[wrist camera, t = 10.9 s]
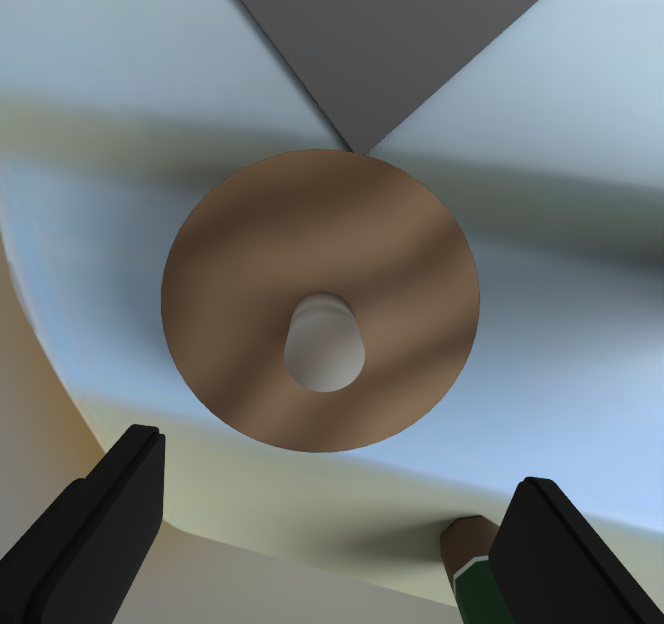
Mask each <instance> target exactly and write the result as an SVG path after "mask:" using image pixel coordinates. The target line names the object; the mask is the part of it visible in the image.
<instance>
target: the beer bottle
mask: <svg viewBox="0 0 664 624" xmlns="http://www.w3.org/2000/svg"><path fill="white" fill-rule="evenodd" d="M499 528H500V527H499V526H497V525H496V524H494V523H493V522H491V521H490V520H488V519H486V518H485V517H483V516H477V517H470V518H463V519H457V520H456V521H455V522H454V523H453V524H452V525H451V526H450V527H449V528H447V529H446V530H445V531H444V532H443V533H442V534H441V556H442V559H443V563H444V566H445V570H446V573H447V576H448V579H449V582H450V585H451V588H452V591H453V593H454V596H455V599H456V602H457V605H458V608H459V611H460V614H461V617H462V620H463V623H464V624H515V623H514V621H513V618H512V616H511V614H510V612H509V609H508V607H507V605H506V603H505V601H504V598H503V596H502V594H501V592H500V590H499V587H498V585H497V583H496V581H495V579H494V576H493V574H492V572H491V569H490V567H489V562H488V554H489V551H490V549H491V546H492V544H493V542H494V539H495V537H496V535H497V532H498V530H499Z"/></svg>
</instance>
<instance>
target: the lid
mask: <svg viewBox="0 0 664 624" xmlns="http://www.w3.org/2000/svg"><path fill="white" fill-rule="evenodd" d="M479 300H480V293H479V284H478V275H477V271H476V267H475V263H474V259H473V255H472V253H471V250H470V248H469V245H468V243H467V241H466V238H465V236H464V234H463V232H462V231H461V229H460V227H459V226H458V224H457V222H456V220H455V219H454V217H453V216H452V215H451V213H450V212H449V211H448V210H447V208H446V207H445V206H444V205H443V203H442V202H441V201H440V200H439V199H438V198H437V197H436V196H435V195H434V194H433V193H432V192H431V191H429V190H428V189H427V188H426V187H425V186H424V185H423V184H421V183H420V182H419V181H417V180H416V179H414V178H413V177H411V176H410V175H408V174H407V173H406V172H404V171H402V170H400V169H398V168H396V167H394V166H392V165H390V164H388V163H386V162H384V161H381V160H378V159H375V158H371V157H368V156H365V155H362V154H358V153H352V152H346V151H340V150H320V149H312V150H303V151H295V152H288V153H284V154H281V155H277V156H273V157H269V158H266V159H264V160H261V161H259V162H256V163H254V164H252V165H249V166H247V167H245V168H243V169H241V170H240V171H238V172H237V173H235V174H233V175H232V176H230V177H228V178H227V179H225V180H224V181H223V182H221V183H220V184H219V185H218V186H217V187H215V188H214V189H213V190H212V191H211V192H209V193H208V194H207V195H206V196H205V197H204V198H203V199H202V201H201V202H200V203H199V204H198V205H197V206H196V207H195V208H194V209H193V211H192V212H191V213H190V215H189V216H188V218H187V219H186V221H185V222H184V224H183V225H182V227H181V228H180V230H179V232H178V234H177V236H176V239H175V241H174V243H173V245H172V247H171V249H170V252H169V256H168V259H167V262H166V266H165V269H164V275H163V281H162V288H161V314H162V322H163V329H164V334H165V337H166V341H167V344H168V348H169V351H170V353H171V356H172V358H173V360H174V362H175V365H176V367H177V369H178V371H179V372H180V374H181V376H182V377H183V379H184V381H185V382H186V384H187V385H188V387H189V388H190V389H191V390H192V392H193V393H194V394H195V396H196V397H197V398H198V399H199V400H200V401H201V402H202V403H203V404H204V405H205V406H206V407H207V408H208V409H209V410H210V411H211V412H212V413H213V414H214V415H216V416H217V417H218V418H219V419H221V420H222V421H223V422H225V423H226V424H227V425H229V426H231V427H232V428H234V429H236V430H237V431H239V432H240V433H242V434H244V435H246V436H249V437H251V438H253V439H255V440H257V441H260V442H263V443H266V444H269V445H272V446H275V447H279V448H283V449H288V450H293V451H302V452H312V453H319V452H338V451H346V450H352V449H356V448H360V447H365V446H368V445H371V444H374V443H377V442H380V441H382V440H385V439H387V438H389V437H391V436H393V435H395V434H397V433H399V432H401V431H403V430H404V429H406V428H407V427H409V426H411V425H412V424H414V423H415V422H417V421H418V420H419V419H420V418H422V417H423V416H424V415H425V414H427V413H428V412H429V411H430V410H431V409H432V408H433V407H434V406H435V405H436V404H437V403H438V402H439V401H440V400H441V399H442V398H443V397H444V395H445V394H446V393H447V392H448V390H449V389H450V388H451V387H452V385H453V384H454V382H455V381H456V379H457V377H458V376H459V374H460V372H461V371H462V369H463V367H464V365H465V363H466V360H467V358H468V356H469V354H470V351H471V348H472V345H473V342H474V338H475V335H476V330H477V324H478V318H479Z"/></svg>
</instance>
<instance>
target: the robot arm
mask: <svg viewBox="0 0 664 624" xmlns="http://www.w3.org/2000/svg"><path fill="white" fill-rule="evenodd" d="M164 467H165V435H164V434H159V429H158V428H157V427H153V426H145V425H138V424H133V425H131V426H130V427H129V428H128V429H127V430H126V432H125V433H124V434H123V435H122V436H121V437H120V439H119V440H118V441H117V442H116V443H115V444H114V445H113V447H112V448H111V449H110V450H109V451H108V452H107V454H106V455H105V456H104V457H103V458H102V459H101V461H100V462H99V463H98V464H97V465H96V466H95V467H94V469H93V470H92V471H91V472H90V473H89V474H88V476H87V477H86V478H85V479H84V478H78V479H76V480H75V481H73V482H72V483H71V484H69V485H68V486H67V487H66V489H64V491H63V492H62V493H61V494H60V495H59V496H58V497H57V498H56V499H55V501H54V502H53V503H52V504H51V505H50V506H49V507H48V508H47V509H46V510H45V512H44V513H43V514H42V515H41V516H40V517H39V518H38V519H37V520H36V521H35V523H34V524H33V525H32V526H31V527H30V528H29V529H28V531H26V533H25V534H24V535H23V536H22V537H21V538H20V539H19V541H17V543H16V544H15V545H14V546H13V547H12V548H11V549H10V550H9V551H8V552H7V554H6V555H5V556H4V557H3V558H2V559H1V560H0V624H112V622H113V620H114V618H115V616H116V614H117V612H118V610H119V608H120V606H121V604H122V602H123V600H124V598H125V596H126V594H127V593H128V591H129V589H130V587H131V585H132V583H133V580H134V579H135V577H136V574H137V573H138V571H139V569H140V567H141V565H142V563H143V561H144V559H145V557H146V555H147V553H148V551H149V549H150V547H151V545H152V543H153V541H154V539H155V537H156V535H157V533H158V531H159V528H160V525H161V522H162V517H163V495H164ZM488 562H489V567H490V569H491V572H492V574H493V576H494V579H495V581H496V583H497V585H498V587H499V590H500V592H501V594H502V596H503V598H504V601H505V603H506V605H507V607H508V609H509V612H510V614H511V616H512V618H513V621H514V623H515V624H664V614H663V613H662V612H661V611H660V609H659V608H658V607H657V606H656V605H655V603H654V602H653V601H652V600H651V598H650V597H649V596H648V595H647V594H646V592H645V591H644V590H643V589H642V588H641V586H640V585H639V584H638V583H637V581H636V580H635V579H634V578H633V577H632V575H631V574H630V573H629V572H628V570H627V569H626V568H625V567H624V566H623V564H622V563H621V562H620V561H619V560H618V558H617V557H616V556H615V555H614V553H613V552H612V551H611V550H610V549H609V547H608V546H607V545H606V544H605V543H604V541H603V540H602V539H601V538H600V536H599V535H598V534H597V533H596V532H595V530H594V529H593V528H592V527H591V526H590V524H589V523H588V522H587V521H586V519H585V518H584V517H583V516H582V515H581V513H580V512H579V511H578V510H577V509H576V507H575V506H574V505H573V504H572V502H571V501H570V500H569V499H568V498H567V496H566V495H565V494H564V493H563V492H562V490H561V489H560V488H559V487H558V485H557V484H556V483H555V482H554V481H552V480H550V479H545V478H537V477H526V478H525V479H524V481H523V482H520V483H519V484H518V486H517V488H516V491H515V493H514V495H513V498H512V500H511V502H510V505H509V507H508V509H507V511H506V514H505V516H504V518H503V521H502V523H501V525H500V528H499V530H498V532H497V535H496V537H495V539H494V542H493V544H492V546H491V549H490V551H489V554H488Z"/></svg>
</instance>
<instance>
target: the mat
mask: <svg viewBox="0 0 664 624" xmlns="http://www.w3.org/2000/svg"><path fill="white" fill-rule="evenodd" d="M240 1H241V2H242V3H243V5H244V6H245V8H246V9H247V10H248V12H249V13H250V14H251V16H252V17H253V18H254V20H255V21H256V22H257V24H258V25H259V26H260V28H261V29H262V30H263V32H264V33H265V35H266V36H267V37H268V39H269V40H270V41H271V43H272V44H273V45H274V47H275V48H276V49H277V51H278V52H279V53H280V55H281V56H282V58H283V59H284V60H285V62H286V63H287V64H288V66H289V67H290V68H291V70H292V71H293V72H294V74H295V75H296V76H297V78H298V79H299V80H300V82H301V83H302V85H303V86H304V87H305V89H306V90H307V91H308V93H309V94H310V95H311V97H312V98H313V99H314V101H315V102H316V103H317V105H318V106H319V107H320V109H321V110H322V112H323V113H324V114H325V116H326V117H327V118H328V120H329V121H330V122H331V124H332V125H333V126H334V128H335V129H336V130H337V132H338V133H339V135H340V136H341V137H342V139H343V140H344V141H345V143H346V144H347V145H348V147H349V148H350V149H351V151H352V152H353V153H358V154H362V155H365V154H366V153H367V152H369V151H370V150H371V149H372V148H373V147H374V146H375V145H376V144H378V143H379V142H380V141H381V140H382V139H383V138H384V137H385V136H386V135H388V134H389V133H390V132H391V131H392V130H393V129H394V128H395V127H397V126H398V125H399V124H400V123H401V122H402V121H403V120H404V119H406V118H407V117H408V116H409V115H410V114H411V113H412V112H413V111H415V110H416V109H417V108H418V107H419V106H420V105H421V104H422V103H424V102H425V101H426V100H427V99H428V98H429V97H430V96H431V95H433V94H434V93H435V92H436V91H437V90H438V89H439V88H440V87H442V86H443V85H444V84H445V83H446V82H447V81H448V80H449V79H450V78H452V77H453V76H454V75H455V74H456V73H457V72H458V71H459V70H461V69H462V68H463V67H464V66H465V65H466V64H467V63H468V62H470V61H471V60H472V59H473V58H474V57H475V56H476V55H477V54H479V53H480V52H481V51H482V50H483V49H484V48H485V47H486V46H488V45H489V44H490V43H491V42H492V41H493V40H494V39H495V38H497V37H498V36H499V35H500V34H501V33H502V32H503V31H504V30H506V29H507V28H508V27H509V26H510V25H511V24H512V23H513V22H514V21H516V20H517V19H518V18H519V17H520V16H521V15H522V14H523V13H525V12H526V11H527V10H528V9H529V8H530V7H531V6H532V5H534V4H535V3H536V2H537V1H538V0H240Z"/></svg>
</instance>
